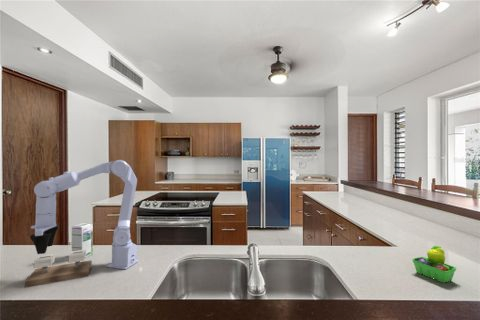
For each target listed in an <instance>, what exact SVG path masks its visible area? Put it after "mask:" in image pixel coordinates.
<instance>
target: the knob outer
mask: <svg viewBox="0 0 480 320" xmlns="http://www.w3.org/2000/svg"><path fill="white" fill-rule="evenodd" d="M55 257H56V253H50V254H45V255H39V256H38V257H37V258H36V259H35V260H34V269H39V268H42V267H47V266H48V267H52V265H53V264H54V262H55V260H56V259H55Z"/></svg>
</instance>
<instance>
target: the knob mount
mask: <svg viewBox="0 0 480 320" xmlns="http://www.w3.org/2000/svg"><path fill="white" fill-rule="evenodd" d="M92 265H93V263H92V260H84V261H78V262H72V263H65V264H60V265H59V264H58V265H53V266H52V265H51V266H47V267H40V268H34V269H35V270H33V271H32V272H31V273H30V275H29V276H28V278H26V280H25V281H24V288H29V287H35V286H40V285H46V284H51V283H55V282H62V281H68V280H71V279H72V280H73V279H79V278H83V277H88V276H89V274H90V270H91V268H92Z"/></svg>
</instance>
